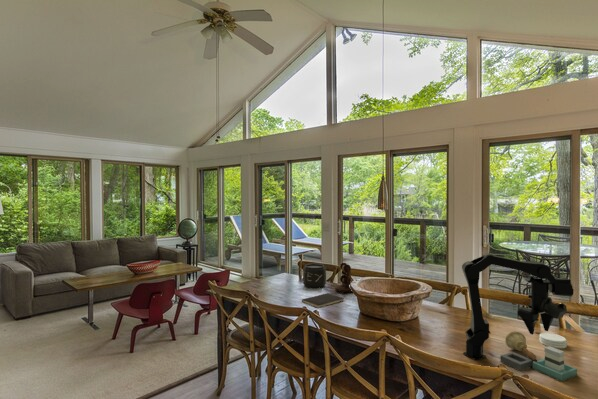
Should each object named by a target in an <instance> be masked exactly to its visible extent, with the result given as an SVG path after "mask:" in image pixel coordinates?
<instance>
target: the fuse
mask: <svg viewBox="0 0 598 399" xmlns="http://www.w3.org/2000/svg"><path fill="white" fill-rule="evenodd" d="M544 358H545V367H547V368H549V369H552V370H554V371H557V372H559V373H562V372H565V368H564V364H565V351H564V350H562V349H561V350H560V349H559V348H553V347H550V346H545V347H544Z"/></svg>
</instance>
